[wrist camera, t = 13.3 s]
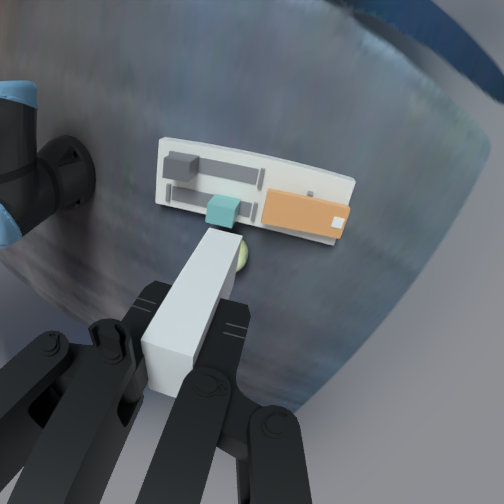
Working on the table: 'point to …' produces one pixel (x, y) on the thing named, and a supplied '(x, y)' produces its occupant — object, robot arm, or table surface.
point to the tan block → (304, 213)
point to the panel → (246, 182)
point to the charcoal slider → (180, 166)
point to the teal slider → (222, 210)
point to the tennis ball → (242, 256)
